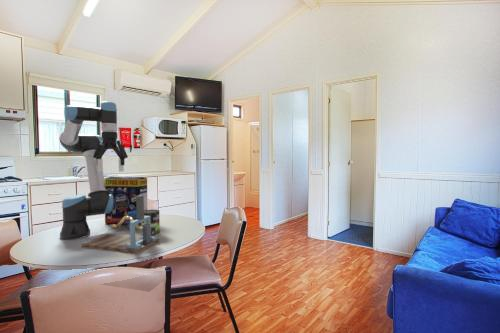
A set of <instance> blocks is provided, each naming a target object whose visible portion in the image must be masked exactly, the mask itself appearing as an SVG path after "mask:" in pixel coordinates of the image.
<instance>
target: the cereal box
mask: <svg viewBox="0 0 500 333" xmlns="http://www.w3.org/2000/svg"><path fill="white" fill-rule="evenodd" d="M104 181H105V188H106V190H108V191H109V194H112V195H113V209H112V211H111V212H110V213H106V214H104V224H106V225H107V224H109V225H111V224H113V225H117V224H118V223H119V222H120V221H121V220H122V218H123V217H124V216H127V215H129V212H130V211H132V212H133V211H134V210H136V211H137V207H136V196H139V195H141V196H144V210H148V178H147V177H144V176H142V177H141V176H140V177H139V176H109V177H106V178H105V177H104ZM126 221H127V219H126V220H125V221H124V222H123V223H122V224H121V225H127V224H126ZM139 226H142V222H141V223H140V225H139Z"/></svg>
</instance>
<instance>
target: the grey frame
mask: <svg viewBox="0 0 500 333" xmlns="http://www.w3.org/2000/svg"><path fill="white" fill-rule="evenodd" d="M136 207H137V220H134V221H131V222H130V228H129V236H130V243H127V244H125V248H133V249H140V248H141V247H142V244H143V236H142V235H141V236H140V237H141V240H139V241H137V242H136V237H137V236H136V228H135V224H138V223H141V222H143V221H146V224H150V241H155V240H156V239H157V236H155V237H151V221H150V216H145V217H144V196H141V195H139V196H136Z"/></svg>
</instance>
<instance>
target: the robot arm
mask: <svg viewBox="0 0 500 333" xmlns="http://www.w3.org/2000/svg"><path fill="white" fill-rule="evenodd" d="M117 111H118V109H117V104H116V103H115V102H112V101H101V102H100V107H92V106H81V105H65V106H64V110H63V113H64V114H63V115H64V118H65V120H66V122H65V126H64V129H63V132H61V134H59V135H60V136H59V143H60V145H61V146H62V147H63V148H64V149H65V150H67V151H69V152H72V153H81V155H82V157H84V158H85V162H86V169H87V170H86V171H87V177H88V183H89V184H88V185H89V190H90V191H89V193H88V194H87V195H86V194H76V195H71V196H67V197H65V198H64V199H62V204H61V205H62V206H61V208H62V223H63V224H62V225H61V226H62V227H61V230H60V233H59V238H60V239H62V240H74V239H76V240H77V239H79V238H80V239H81V238H84V237H85V238H86V237H87V236H89V235H90V234H91V229H90V227H89V224H88V222H87V217H91V216H97V215H99V216H100V215H105V214H106V213H110V212H111V211H112V209H113V195H112V194H109V191H108V190H106V188H105V177H104V171H103V170H104V168H103V166H104V165H103V164H104V163H103V156H104V155H105V153H106V151H108V150H113V151H114V153H115V154H116V155H117V157H118V172H124V171H125V170H124V169H125V168H124V167H125V163H126V162H125V159H127V158H128V156H129V155H128V154H127V151H126V150H125V147H124V145H123V140H118V117H117V116H118V115H117V113H118V112H117ZM84 121H85V122H99V123H100V124H101V131H102V132H101V135H100V134H82V133H81V134H80V132H81V129H82V126H83V123H84Z"/></svg>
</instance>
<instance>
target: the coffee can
mask: <svg viewBox="0 0 500 333" xmlns="http://www.w3.org/2000/svg"><path fill="white" fill-rule="evenodd" d="M160 211H161V210H160V209H147V210H144V217H145V216H150V221H151V237H157V236H160V234H161V233H160V230H161V229H160V227H161V226H160V224H161V223H160ZM145 224H146V221H143V222H142V224H141V226H142V225H145ZM142 236H143V234H142V233H141V237H142Z"/></svg>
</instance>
